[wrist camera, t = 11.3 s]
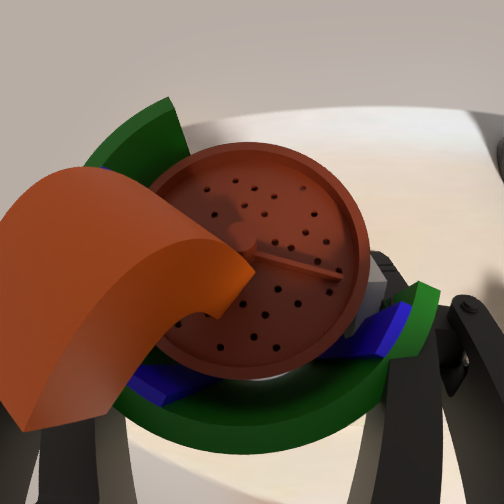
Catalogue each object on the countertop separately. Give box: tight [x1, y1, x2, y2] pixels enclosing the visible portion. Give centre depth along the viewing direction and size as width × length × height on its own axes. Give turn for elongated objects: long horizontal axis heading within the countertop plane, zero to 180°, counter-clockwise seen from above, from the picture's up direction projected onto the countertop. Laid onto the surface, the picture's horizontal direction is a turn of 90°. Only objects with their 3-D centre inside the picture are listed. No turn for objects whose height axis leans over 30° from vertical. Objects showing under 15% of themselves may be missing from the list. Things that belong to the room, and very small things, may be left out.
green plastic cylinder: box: [0, 97, 441, 455], centre depth 12 cm, size 10×9×20 cm
